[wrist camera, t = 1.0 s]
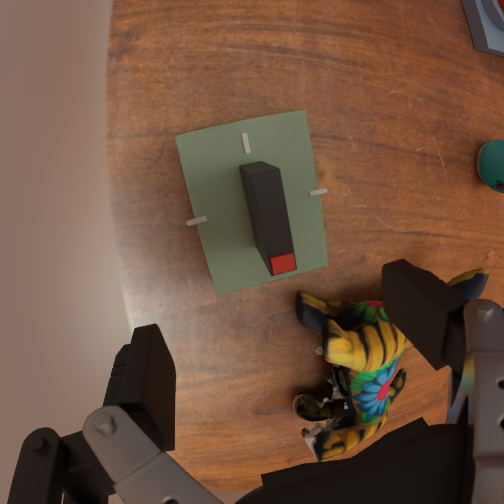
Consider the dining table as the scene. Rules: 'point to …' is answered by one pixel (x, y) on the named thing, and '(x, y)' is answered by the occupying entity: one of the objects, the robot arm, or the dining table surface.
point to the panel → (234, 201)
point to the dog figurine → (357, 367)
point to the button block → (486, 25)
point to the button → (501, 4)
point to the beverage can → (492, 164)
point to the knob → (269, 216)
